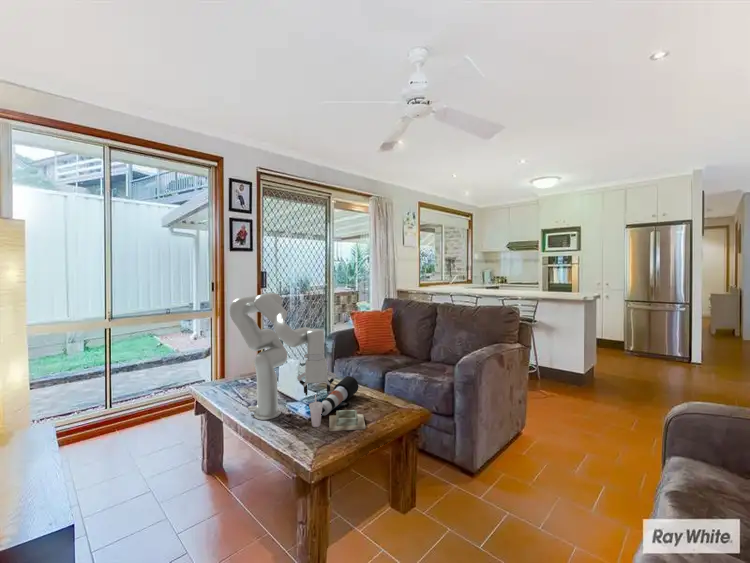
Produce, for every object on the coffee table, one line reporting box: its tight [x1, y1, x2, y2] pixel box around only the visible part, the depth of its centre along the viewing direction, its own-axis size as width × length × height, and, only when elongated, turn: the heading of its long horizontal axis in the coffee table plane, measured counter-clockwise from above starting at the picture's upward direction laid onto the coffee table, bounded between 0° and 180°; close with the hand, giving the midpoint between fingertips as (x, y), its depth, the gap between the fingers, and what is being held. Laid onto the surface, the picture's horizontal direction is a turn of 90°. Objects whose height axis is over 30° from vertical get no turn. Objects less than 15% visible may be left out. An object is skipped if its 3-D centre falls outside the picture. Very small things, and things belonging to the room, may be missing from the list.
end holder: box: [328, 409, 366, 432], centre depth 164 cm, size 16×13×4 cm
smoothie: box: [308, 394, 323, 428], centre depth 162 cm, size 6×6×14 cm
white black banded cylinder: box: [321, 376, 359, 416], centre depth 183 cm, size 10×34×10 cm, turn 156°
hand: (317, 393), depth 162 cm, fingers open, 9 cm apart
